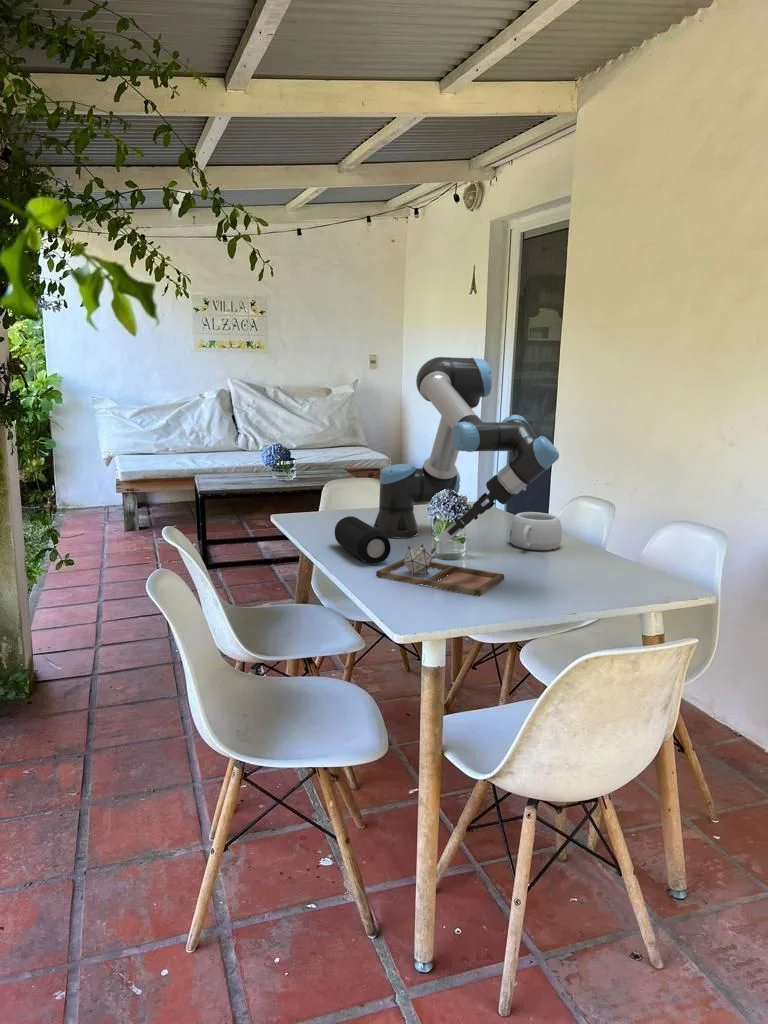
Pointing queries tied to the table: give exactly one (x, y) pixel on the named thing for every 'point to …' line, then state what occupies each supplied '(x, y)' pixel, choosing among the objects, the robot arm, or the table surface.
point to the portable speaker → (362, 540)
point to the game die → (417, 560)
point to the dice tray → (449, 578)
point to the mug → (536, 531)
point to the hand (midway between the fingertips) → (446, 535)
